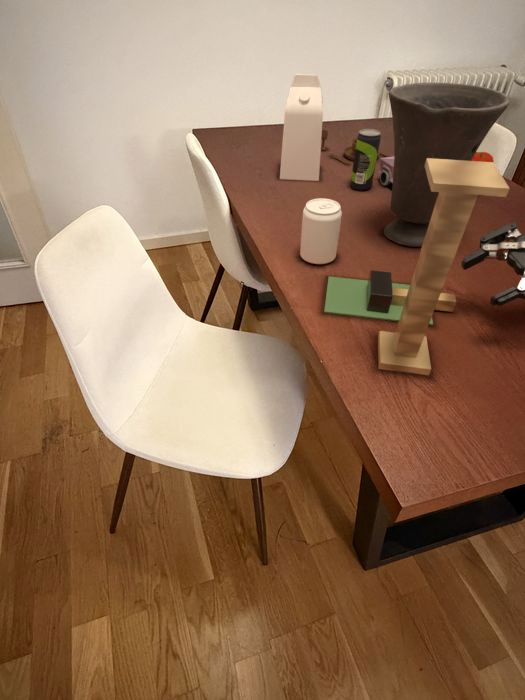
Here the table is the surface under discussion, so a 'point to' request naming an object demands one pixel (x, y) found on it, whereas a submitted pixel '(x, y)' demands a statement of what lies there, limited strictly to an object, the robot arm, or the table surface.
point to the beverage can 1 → (320, 230)
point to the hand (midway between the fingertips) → (476, 283)
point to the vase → (433, 144)
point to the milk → (302, 129)
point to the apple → (482, 157)
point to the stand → (436, 257)
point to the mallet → (395, 294)
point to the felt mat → (357, 299)
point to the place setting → (348, 151)
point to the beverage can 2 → (365, 159)
